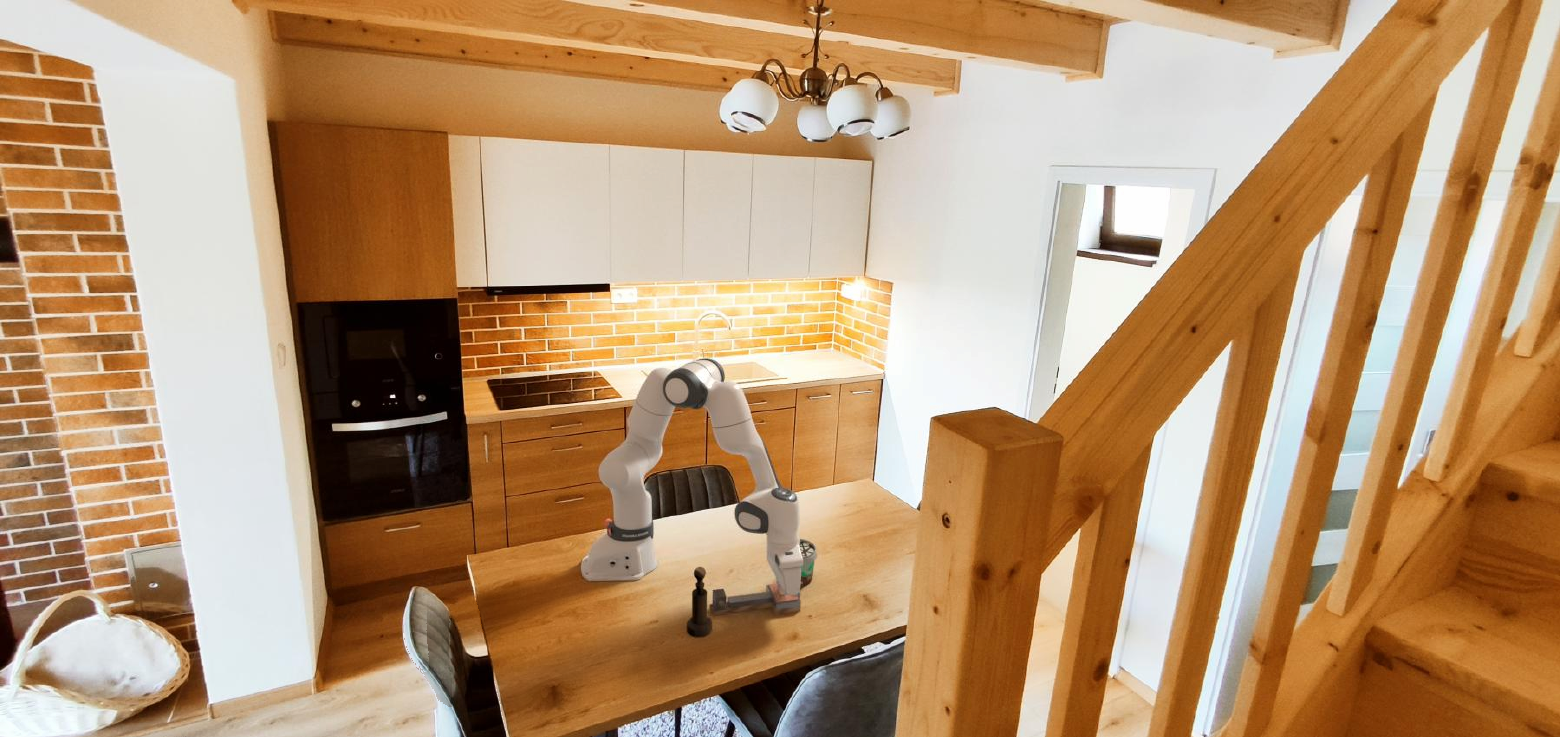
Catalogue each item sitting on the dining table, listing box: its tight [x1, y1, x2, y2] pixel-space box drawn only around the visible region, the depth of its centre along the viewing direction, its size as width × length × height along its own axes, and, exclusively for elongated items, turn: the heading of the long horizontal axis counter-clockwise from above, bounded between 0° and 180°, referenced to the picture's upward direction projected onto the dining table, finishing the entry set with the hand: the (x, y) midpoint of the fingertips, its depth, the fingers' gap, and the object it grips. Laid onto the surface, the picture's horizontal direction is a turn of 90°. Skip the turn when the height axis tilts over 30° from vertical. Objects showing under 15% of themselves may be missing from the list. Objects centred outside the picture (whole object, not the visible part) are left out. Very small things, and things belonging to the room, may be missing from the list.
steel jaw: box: [727, 582, 802, 609], centre depth 203 cm, size 20×10×2 cm, turn 107°
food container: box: [799, 538, 818, 588], centre depth 216 cm, size 12×6×10 cm, turn 168°
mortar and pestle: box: [686, 566, 713, 638], centre depth 189 cm, size 7×6×18 cm
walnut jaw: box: [708, 588, 801, 616], centre depth 202 cm, size 25×10×6 cm, turn 106°
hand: (781, 592), depth 204 cm, fingers closed, pressing on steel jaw
